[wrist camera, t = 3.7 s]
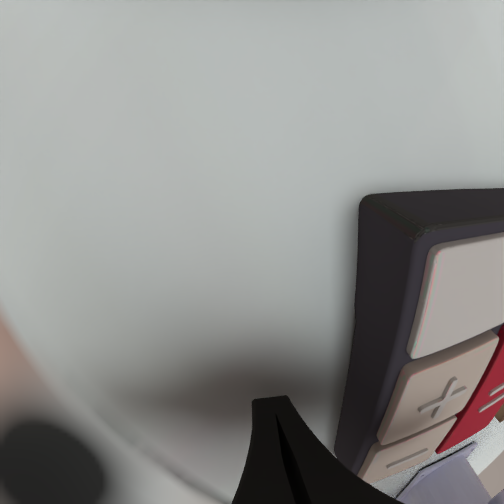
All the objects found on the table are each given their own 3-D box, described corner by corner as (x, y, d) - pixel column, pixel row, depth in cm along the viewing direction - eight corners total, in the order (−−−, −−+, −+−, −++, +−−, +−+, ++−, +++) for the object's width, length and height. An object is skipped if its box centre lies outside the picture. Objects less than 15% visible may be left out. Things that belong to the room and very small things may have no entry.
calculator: (347, 496, 12) (435, 241, 6) (328, 440, 16) (355, 192, 10) (490, 429, 13) (586, 214, 7) (462, 390, 17) (526, 187, 11)
